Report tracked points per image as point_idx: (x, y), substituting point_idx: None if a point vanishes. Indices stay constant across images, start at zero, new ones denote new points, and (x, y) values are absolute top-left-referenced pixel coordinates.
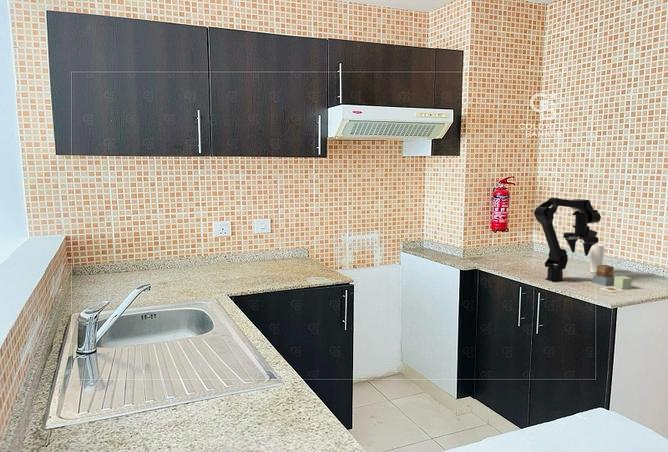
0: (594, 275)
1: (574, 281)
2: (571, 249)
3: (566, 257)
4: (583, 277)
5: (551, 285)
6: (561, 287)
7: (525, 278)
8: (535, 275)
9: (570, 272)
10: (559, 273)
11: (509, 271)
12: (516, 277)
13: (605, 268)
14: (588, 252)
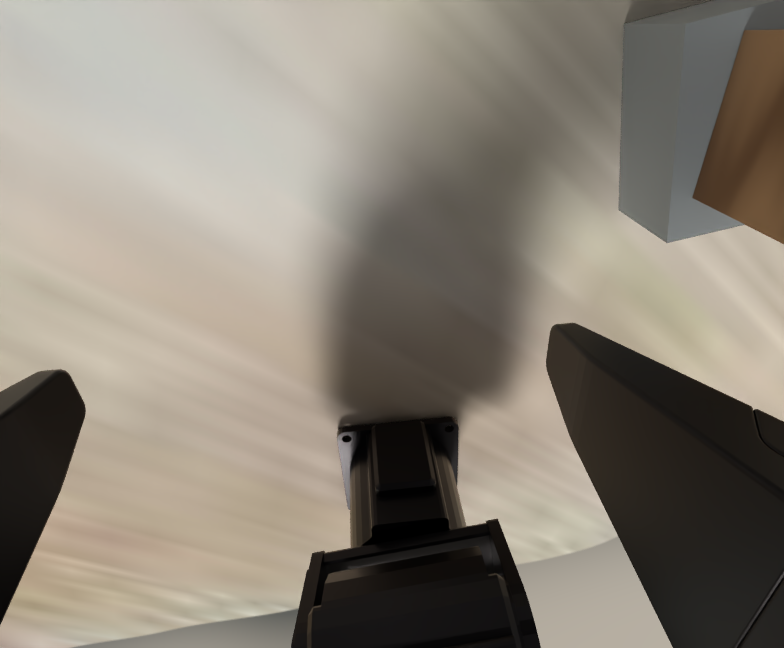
0: (679, 231)
1: (496, 344)
2: (40, 505)
3: (518, 645)
4: (365, 136)
5: (530, 534)
6: (602, 509)
7: (295, 586)
8: (200, 508)
9: (31, 107)
10: (461, 509)
11: (37, 599)
12: (256, 614)
13: None
14: (647, 370)
